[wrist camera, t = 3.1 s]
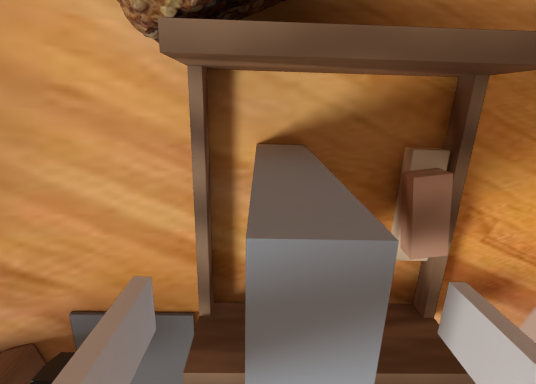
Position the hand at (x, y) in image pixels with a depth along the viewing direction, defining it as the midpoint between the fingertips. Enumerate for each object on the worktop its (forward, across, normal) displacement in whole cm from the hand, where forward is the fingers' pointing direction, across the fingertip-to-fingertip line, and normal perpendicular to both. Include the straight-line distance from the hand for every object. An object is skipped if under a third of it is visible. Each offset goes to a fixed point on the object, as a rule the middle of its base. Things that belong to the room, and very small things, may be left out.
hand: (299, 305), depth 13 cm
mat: (+14, -14, -18) cm, 27 cm away
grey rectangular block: (+14, 0, 0) cm, 14 cm away
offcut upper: (+12, +12, 0) cm, 17 cm away
